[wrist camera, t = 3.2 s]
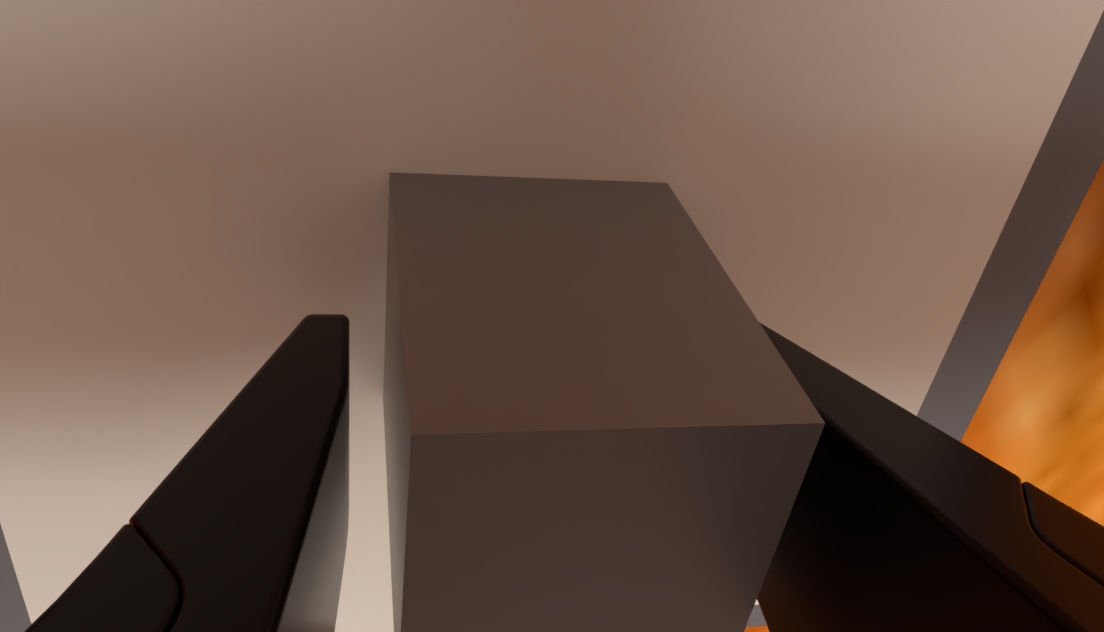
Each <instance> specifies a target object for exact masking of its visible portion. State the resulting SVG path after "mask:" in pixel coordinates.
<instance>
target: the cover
mask: <svg viewBox="0 0 1104 632" xmlns="http://www.w3.org/2000/svg"><path fill="white" fill-rule="evenodd" d="M1103 11H1104V0H0V524H1V527H2V530H3V534H4V537H5V540H6V543H7V547H8V550H9V553H10V556H11V560H12V563H13V566H14V569H15V572H16V576H17V579H18V582H19V585H20V589H21V592H22V595H23V598H24V602H25V605H26V608H27V611H28V615H29V618H30V621H31V624H32V623H33V622H34V621H35V620H36V619H37V618H38V617H39V616H40V615H41V614H42V613H43V612H44V611H46V610H47V609H48V608H49V607H50V606H51V605H52V604H53V603H54V602H55V601H56V600H57V599H58V598H59V596H60V595H61V594H62V593H63V592H64V591H65V590H66V589H67V588H68V587H69V586H70V585H71V583H72V582H73V581H74V580H75V579H76V578H77V577H78V576H79V575H80V574H81V573H82V572H83V570H84V569H85V568H86V567H87V566H88V565H89V564H90V563H91V562H92V561H93V560H94V559H95V557H96V556H97V555H98V554H99V553H100V552H101V551H102V550H103V548H104V547H105V546H106V545H107V544H108V543H109V542H110V540H111V539H112V538H113V537H114V536H115V535H116V533H117V532H118V531H119V530H120V529H121V527H122V526H124V525H125V524H129V520H130V518H131V517H132V516H133V514H134V513H135V512H136V511H137V510H138V509H139V508H140V506H141V505H142V504H143V503H144V502H145V501H146V499H147V498H148V497H149V496H150V495H151V494H152V493H153V491H154V490H155V489H156V488H157V487H158V486H159V484H160V483H161V482H162V481H163V480H164V479H165V478H166V476H167V475H168V474H169V473H170V472H171V471H172V469H173V468H174V467H175V466H176V465H177V464H178V463H179V461H180V460H181V459H182V458H183V457H184V456H185V454H186V453H187V452H188V451H189V450H190V449H191V448H192V446H193V445H194V444H195V443H196V442H197V441H198V439H199V438H200V437H201V436H202V435H203V434H204V433H205V431H206V430H207V429H208V428H209V427H210V426H211V424H212V423H213V422H214V421H215V420H216V419H217V418H218V416H219V415H220V414H221V413H222V412H223V411H224V409H225V408H226V407H227V406H228V405H229V404H230V403H231V401H232V400H233V399H234V398H235V397H236V396H237V394H238V393H239V392H240V391H241V390H242V389H243V388H244V386H245V385H246V384H247V383H248V382H249V381H250V379H251V378H252V377H253V376H254V375H255V374H256V373H257V371H258V370H259V369H260V368H261V367H262V366H263V364H264V363H265V362H266V361H267V360H268V359H269V358H270V356H271V355H272V354H273V353H274V352H275V351H276V349H277V348H278V347H279V346H280V345H281V344H282V343H283V341H284V340H285V339H286V338H287V337H288V336H289V334H290V333H291V332H292V331H293V330H294V329H295V328H296V326H297V325H298V324H299V323H300V322H301V321H302V319H303V318H304V317H305V316H307V315H310V314H342V315H345V316H347V317H348V319H349V322H350V324H349V522H348V536H347V546H346V554H345V561H344V568H343V576H342V583H341V590H340V597H339V604H338V611H337V618H336V625H335V632H744V630H745V628H746V625H747V622H748V620H749V617H750V615H751V612H752V610H753V607H754V605H759V603H758V601H757V597H758V594H759V592H760V589H761V587H762V584H763V581H764V579H765V576H766V574H767V571H768V569H769V566H770V563H771V561H772V558H773V556H774V553H775V551H776V548H777V546H778V543H779V540H780V538H781V535H782V533H783V530H784V528H785V525H786V522H787V520H788V517H789V515H790V512H791V510H792V507H793V504H794V502H795V499H796V497H797V494H798V492H799V489H800V487H801V484H802V481H803V479H804V476H805V474H806V471H807V469H808V466H809V463H810V461H811V458H812V456H813V453H814V451H815V448H816V446H817V443H818V440H819V438H820V435H821V433H822V430H823V428H824V425H825V422H824V420H823V419H822V417H821V416H820V414H819V413H818V411H817V410H816V408H815V407H814V405H813V404H812V402H811V401H810V399H809V398H808V396H807V395H806V393H805V392H804V390H803V389H802V387H801V385H800V384H799V382H798V381H797V379H796V378H795V376H794V375H793V373H792V372H791V370H790V369H789V367H788V366H787V364H786V363H785V361H784V360H783V358H782V357H781V355H780V354H779V352H778V351H777V349H776V347H775V346H774V344H773V343H772V341H771V340H770V338H769V337H768V335H767V334H766V332H765V331H764V329H763V328H762V326H761V325H760V323H762V324H763V325H765V326H767V327H768V328H770V329H772V330H773V331H775V332H777V333H778V334H780V335H782V336H783V337H785V338H787V339H788V340H790V341H792V342H793V343H795V344H797V345H798V346H800V347H802V348H804V349H805V350H807V351H809V352H810V353H812V354H814V355H815V356H817V357H819V358H820V359H822V360H824V361H825V362H827V363H829V364H830V365H832V366H834V367H835V368H837V369H839V370H840V371H842V372H844V373H845V374H847V375H849V376H850V377H852V378H854V379H855V380H857V381H859V382H860V383H862V384H864V385H866V386H867V387H869V388H871V389H872V390H874V391H876V392H877V393H879V394H881V395H882V396H884V397H886V398H887V399H889V400H891V401H892V402H894V403H896V404H897V405H899V406H901V407H902V408H904V409H906V410H907V411H909V412H911V413H912V414H914V415H916V416H917V414H918V411H919V409H920V407H921V405H922V403H923V401H924V398H925V396H926V394H927V392H928V390H929V388H930V385H931V383H932V381H933V379H934V377H935V375H936V372H937V370H938V368H939V366H940V364H941V362H942V359H943V357H944V355H945V353H946V351H947V349H948V346H949V344H950V342H951V340H952V338H953V336H954V333H955V331H956V329H957V327H958V325H959V323H960V320H961V318H962V316H963V314H964V312H965V310H966V307H967V305H968V303H969V301H970V299H971V297H972V294H973V292H974V290H975V288H976V286H977V284H978V281H979V279H980V277H981V275H982V273H983V271H984V268H985V266H986V264H987V262H988V260H989V258H990V255H991V253H992V251H993V249H994V247H995V245H996V242H997V240H998V238H999V236H1000V234H1001V232H1002V229H1003V227H1004V225H1005V223H1006V221H1007V219H1008V217H1009V214H1010V212H1011V210H1012V208H1013V206H1014V204H1015V201H1016V199H1017V197H1018V195H1019V193H1020V191H1021V188H1022V186H1023V184H1024V182H1025V180H1026V178H1027V175H1028V173H1029V171H1030V169H1031V167H1032V165H1033V162H1034V160H1035V158H1036V156H1037V154H1038V152H1039V149H1040V147H1041V145H1042V143H1043V141H1044V139H1045V136H1046V134H1047V132H1048V130H1049V128H1050V126H1051V123H1052V121H1053V119H1054V117H1055V115H1056V113H1057V110H1058V108H1059V106H1060V104H1061V102H1062V100H1063V97H1064V95H1065V93H1066V91H1067V89H1068V87H1069V84H1070V82H1071V80H1072V78H1073V76H1074V74H1075V71H1076V69H1077V67H1078V65H1079V63H1080V61H1081V58H1082V56H1083V54H1084V52H1085V50H1086V48H1087V45H1088V43H1089V41H1090V39H1091V37H1092V35H1093V32H1094V30H1095V28H1096V26H1097V24H1098V22H1099V19H1100V17H1101V15H1102V13H1103ZM759 322H760V323H759Z"/></svg>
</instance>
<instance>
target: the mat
mask: <svg viewBox="0 0 1104 632" xmlns="http://www.w3.org/2000/svg"><path fill="white" fill-rule="evenodd" d="M1103 159H1104V11H1103V13H1102V15H1101V17H1100V19H1099V22H1098V24H1097V26H1096V28H1095V30H1094V32H1093V35H1092V37H1091V39H1090V41H1089V43H1088V45H1087V48H1086V50H1085V52H1084V54H1083V56H1082V58H1081V61H1080V63H1079V65H1078V67H1077V69H1076V71H1075V74H1074V76H1073V78H1072V80H1071V82H1070V84H1069V87H1068V89H1067V91H1066V93H1065V95H1064V97H1063V100H1062V102H1061V104H1060V106H1059V108H1058V110H1057V113H1056V115H1055V117H1054V119H1053V121H1052V123H1051V126H1050V128H1049V130H1048V132H1047V134H1046V136H1045V139H1044V141H1043V143H1042V145H1041V147H1040V149H1039V152H1038V154H1037V156H1036V158H1035V160H1034V162H1033V165H1032V167H1031V169H1030V171H1029V173H1028V175H1027V178H1026V180H1025V182H1024V184H1023V186H1022V188H1021V191H1020V193H1019V195H1018V197H1017V199H1016V201H1015V204H1014V206H1013V208H1012V210H1011V212H1010V214H1009V217H1008V219H1007V221H1006V223H1005V225H1004V227H1003V229H1002V232H1001V234H1000V236H999V238H998V240H997V242H996V245H995V247H994V249H993V251H992V253H991V255H990V258H989V260H988V262H987V264H986V266H985V268H984V271H983V273H982V275H981V277H980V279H979V281H978V284H977V286H976V288H975V290H974V292H973V294H972V297H971V299H970V301H969V303H968V305H967V307H966V310H965V312H964V314H963V316H962V318H961V320H960V323H959V325H958V327H957V329H956V331H955V333H954V336H953V338H952V340H951V342H950V344H949V346H948V349H947V351H946V353H945V355H944V357H943V359H942V362H941V364H940V366H939V368H938V370H937V372H936V375H935V377H934V379H933V381H932V383H931V385H930V388H929V390H928V392H927V394H926V396H925V398H924V401H923V403H922V405H921V407H920V409H919V411H918V414H917V417H919V418H921V419H923V420H924V421H926V422H928V423H929V424H931V425H933V426H934V427H936V428H938V429H939V430H941V431H943V432H944V433H946V434H948V435H949V436H951V437H953V438H954V439H956V440H958V441H959V442H960V441H961V439H962V437H963V435H964V433H965V431H966V429H967V427H968V425H969V423H970V421H971V419H972V417H973V415H974V413H975V411H976V409H977V407H978V405H979V403H980V401H981V399H982V397H983V395H984V394H985V392H986V390H987V388H988V386H989V384H990V382H991V380H992V378H993V376H994V374H995V372H996V370H997V368H998V366H999V364H1000V362H1001V360H1002V358H1003V356H1004V354H1005V352H1006V350H1007V348H1008V346H1009V344H1010V342H1011V340H1012V338H1013V336H1014V334H1015V332H1016V331H1017V329H1018V327H1019V325H1020V323H1021V321H1022V319H1023V317H1024V315H1025V313H1026V311H1027V309H1028V307H1029V305H1030V303H1031V301H1032V299H1033V297H1034V295H1035V293H1036V291H1037V289H1038V287H1039V285H1040V283H1041V281H1042V279H1043V277H1044V275H1045V273H1046V271H1047V269H1048V267H1049V266H1050V264H1051V262H1052V260H1053V258H1054V256H1055V254H1056V252H1057V250H1058V248H1059V246H1060V244H1061V242H1062V240H1063V238H1064V236H1065V234H1066V232H1067V230H1068V228H1069V226H1070V224H1071V222H1072V220H1073V218H1074V216H1075V214H1076V212H1077V210H1078V208H1079V206H1080V204H1081V202H1082V201H1083V199H1084V197H1085V195H1086V193H1087V191H1088V189H1089V187H1090V185H1091V183H1092V181H1093V179H1094V177H1095V175H1096V173H1097V171H1098V169H1099V167H1100V165H1101V163H1102V161H1103ZM30 625H31V621H30V618H29V615H28V611H27V608H26V605H25V602H24V598H23V595H22V592H21V589H20V585H19V582H18V579H17V576H16V572H15V569H14V566H13V563H12V560H11V556H10V553H9V550H8V547H7V543H6V540H5V537H4V534H3V530H2V527H1V524H0V632H24V631H25V630H26V629H27V628H28V627H29V626H30ZM764 625H767V624H766V621H765V619H764V616H763V613H762V611H761V608H760V606H759V605H754V607H753V610H752V612H751V615H750V617H749V620H748V622H747V625H746V627H752V626H764Z"/></svg>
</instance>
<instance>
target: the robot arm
mask: <svg viewBox="0 0 1104 632" xmlns="http://www.w3.org/2000/svg"><path fill="white" fill-rule="evenodd" d="M759 323H760V322H759ZM349 324H350V322H349V319H348V317H347V316H345V315H342V314H310V315H307V316H305V317H304V318H303V319H302V321H301V322H300V323H299V324H298V325H297V326H296V328H295V329H294V330H293V331H292V332H291V333H290V334H289V336H288V337H287V338H286V339H285V340H284V341H283V343H282V344H281V345H280V346H279V347H278V348H277V349H276V351H275V352H274V353H273V354H272V355H271V356H270V358H269V359H268V360H267V361H266V362H265V363H264V364H263V366H262V367H261V368H260V369H259V370H258V371H257V373H256V374H255V375H254V376H253V377H252V378H251V379H250V381H249V382H248V383H247V384H246V385H245V386H244V388H243V389H242V390H241V391H240V392H239V393H238V394H237V396H236V397H235V398H234V399H233V400H232V401H231V403H230V404H229V405H228V406H227V407H226V408H225V409H224V411H223V412H222V413H221V414H220V415H219V416H218V418H217V419H216V420H215V421H214V422H213V423H212V424H211V426H210V427H209V428H208V429H207V430H206V431H205V433H204V434H203V435H202V436H201V437H200V438H199V439H198V441H197V442H196V443H195V444H194V445H193V446H192V448H191V449H190V450H189V451H188V452H187V453H186V454H185V456H184V457H183V458H182V459H181V460H180V461H179V463H178V464H177V465H176V466H175V467H174V468H173V469H172V471H171V472H170V473H169V474H168V475H167V476H166V478H165V479H164V480H163V481H162V482H161V483H160V484H159V486H158V487H157V488H156V489H155V490H154V491H153V493H152V494H151V495H150V496H149V497H148V498H147V499H146V501H145V502H144V503H143V504H142V505H141V506H140V508H139V509H138V510H137V511H136V512H135V513H134V514H133V516H132V517H131V518H130V520H129V524H125V525H124V526H122V527H121V529H120V530H119V531H118V532H117V533H116V535H115V536H114V537H113V538H112V539H111V540H110V542H109V543H108V544H107V545H106V546H105V547H104V548H103V550H102V551H101V552H100V553H99V554H98V555H97V556H96V557H95V559H94V560H93V561H92V562H91V563H90V564H89V565H88V566H87V567H86V568H85V569H84V570H83V572H82V573H81V574H80V575H79V576H78V577H77V578H76V579H75V580H74V581H73V582H72V583H71V585H70V586H69V587H68V588H67V589H66V590H65V591H64V592H63V593H62V594H61V595H60V596H59V598H58V599H57V600H56V601H55V602H54V603H53V604H52V605H51V606H50V607H49V608H48V609H47V610H46V611H44V612H43V613H42V614H41V615H40V616H39V617H38V618H37V619H36V620H35V621H34V622H33V623H32V624H31V625H30V626H29V627H28V628H27V629H26V630H25V631H24V632H335V625H336V618H337V611H338V604H339V597H340V590H341V583H342V576H343V568H344V561H345V554H346V546H347V536H348V522H349ZM760 325H761V326H762V328H763V329H764V331H765V332H766V334H767V335H768V337H769V338H770V340H771V341H772V343H773V344H774V346H775V347H776V349H777V351H778V352H779V354H780V355H781V357H782V358H783V360H784V361H785V363H786V364H787V366H788V367H789V369H790V370H791V372H792V373H793V375H794V376H795V378H796V379H797V381H798V382H799V384H800V385H801V387H802V389H803V390H804V392H805V393H806V395H807V396H808V398H809V399H810V401H811V402H812V404H813V405H814V407H815V408H816V410H817V411H818V413H819V414H820V416H821V417H822V419H823V420H824V422H825V425H824V428H823V430H822V433H821V435H820V438H819V440H818V443H817V446H816V448H815V451H814V453H813V456H812V458H811V461H810V463H809V466H808V469H807V471H806V474H805V476H804V479H803V481H802V484H801V487H800V489H799V492H798V494H797V497H796V499H795V502H794V504H793V507H792V510H791V512H790V515H789V517H788V520H787V522H786V525H785V528H784V530H783V533H782V535H781V538H780V540H779V543H778V546H777V548H776V551H775V553H774V556H773V558H772V561H771V563H770V566H769V569H768V571H767V574H766V576H765V579H764V581H763V584H762V587H761V589H760V592H759V594H758V597H757V601H758V603H759V606H760V608H761V611H762V613H763V616H764V619H765V621H766V624H767V626H768V629H769V632H1104V526H1102V525H1100V524H1098V523H1097V522H1095V521H1093V520H1091V519H1090V518H1088V517H1086V516H1084V515H1083V514H1081V513H1079V512H1078V511H1076V510H1074V509H1072V508H1071V507H1069V506H1067V505H1065V504H1064V503H1062V502H1060V501H1059V500H1057V499H1055V498H1054V497H1052V496H1050V495H1049V494H1047V493H1045V492H1044V491H1042V490H1040V489H1039V488H1037V487H1035V486H1034V485H1032V484H1030V483H1028V482H1024V483H1021V479H1020V478H1019V477H1018V476H1016V475H1015V474H1013V473H1011V472H1010V471H1008V470H1006V469H1005V468H1003V467H1001V466H1000V465H998V464H996V463H995V462H993V461H991V460H990V459H988V458H986V457H985V456H983V455H981V454H980V453H978V452H976V451H975V450H973V449H971V448H970V447H968V446H966V445H964V444H963V443H961V442H959V441H958V440H956V439H954V438H953V437H951V436H949V435H948V434H946V433H944V432H943V431H941V430H939V429H938V428H936V427H934V426H933V425H931V424H929V423H928V422H926V421H924V420H923V419H921V418H919V417H917V416H916V415H914V414H912V413H911V412H909V411H907V410H906V409H904V408H902V407H901V406H899V405H897V404H896V403H894V402H892V401H891V400H889V399H887V398H886V397H884V396H882V395H881V394H879V393H877V392H876V391H874V390H872V389H871V388H869V387H867V386H866V385H864V384H862V383H860V382H859V381H857V380H855V379H854V378H852V377H850V376H849V375H847V374H845V373H844V372H842V371H840V370H839V369H837V368H835V367H834V366H832V365H830V364H829V363H827V362H825V361H824V360H822V359H820V358H819V357H817V356H815V355H814V354H812V353H810V352H809V351H807V350H805V349H804V348H802V347H800V346H798V345H797V344H795V343H793V342H792V341H790V340H788V339H787V338H785V337H783V336H782V335H780V334H778V333H777V332H775V331H773V330H772V329H770V328H768V327H767V326H765V325H763V324H762V323H760Z"/></svg>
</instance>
